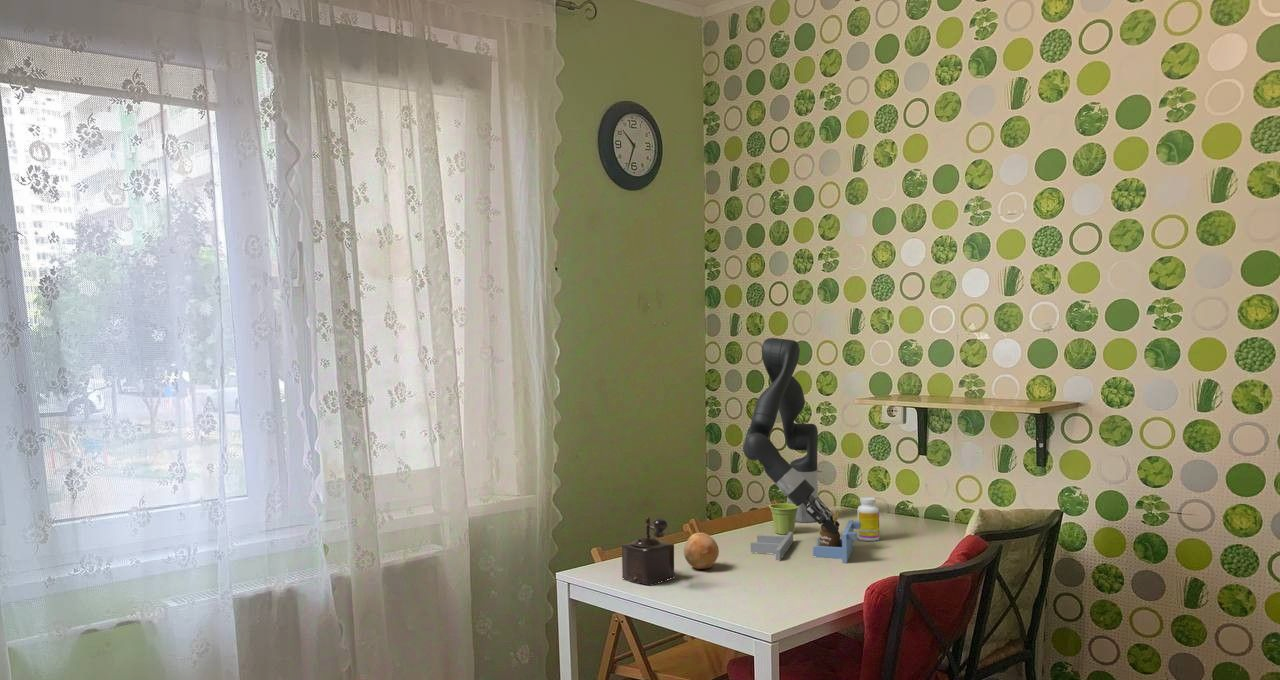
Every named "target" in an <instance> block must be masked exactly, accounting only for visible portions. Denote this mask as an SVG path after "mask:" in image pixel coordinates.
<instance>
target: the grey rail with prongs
mask: <svg viewBox="0 0 1280 680" xmlns="http://www.w3.org/2000/svg"><path fill="white" fill-rule="evenodd" d="M785 535H786V536H783V535H769V534H768V535H764V534H757V535H756V542H754V541H752V542H750V553H751V552H757V553H756V554H758V553H773V554H772V555H774V554H776V555H775V561H776V560H780V559H781V560H782V558H783V557H784V555H785V554H786V553H787V551H788V550H789V548H790V547H791V545H792V544H793V543H794V533H793V532H789V533H787V534H785ZM791 543H792V544H791ZM790 544H791V545H790ZM789 546H790V547H789ZM788 547H789V548H788ZM787 549H788V550H787ZM786 550H787V551H786ZM785 552H786V553H785ZM784 553H785V554H784ZM782 556H783V557H782ZM781 560H780V561H781Z"/></svg>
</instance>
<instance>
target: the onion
mask: <svg viewBox="0 0 1280 680" xmlns="http://www.w3.org/2000/svg"><path fill="white" fill-rule="evenodd" d="M717 543H718V542H717V541H716V540H715V539H714V538H713V537H712V536H710V535H709V534H707V533H706V532H695V533H693V534H691V535H690V536H689V538H687V540H686V542H685V545H684V547H683V548H684V549H683V556H684V559H685V560H686V563H688V564H689V566H691V567H692V568H695V569H698V570H700V569H709V568H711V567H712V566H714V565H715V563H716V561H717V559H718V557H719V553H720V552H719V551H720V549H719V546H718V544H717Z"/></svg>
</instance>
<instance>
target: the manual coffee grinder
mask: <svg viewBox="0 0 1280 680" xmlns="http://www.w3.org/2000/svg"><path fill="white" fill-rule="evenodd" d="M668 525H669V524H668V522H667V520H666V519H664V518H659V517H658V518H655V519H654V520H653V523H652V524H651V517H648V516H647V517H646V518H645V524H644V526H645V529H646V530H645V531H646V533H645V536H642V537H641V536H640V538H637V540H635V541H632V542H628V543H624V544H622V545H621V565H622V568H621V569H622V577H621V579H622V578H624V579H627V580H630V581H629V582H631V581H633V582H632V583H634V582H638V583H637V584H640V583H642V584H641V585H645V584H646V585H647V586H651V585H650V584H654V585H656V584H655V583H658V582H661V581H665V580H667V579H670V578H673V577H674V578H675V544H674V543H670V542H666V541H661V540H659V539H658V538H663V537H665V535H666V534H665V530H666V529H667V528H668ZM650 529H651V530H652V531H654V532H653V536H654V537H653V536H651V535H650ZM674 578H673V579H674ZM624 579H623V580H624ZM627 580H626V581H627ZM665 582H666V581H665ZM661 583H662V582H661ZM658 584H659V583H658Z"/></svg>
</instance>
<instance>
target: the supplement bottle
mask: <svg viewBox="0 0 1280 680" xmlns="http://www.w3.org/2000/svg"><path fill="white" fill-rule="evenodd" d="M859 500H860V501H859V502H860V505H859V506H858V507H857V511H856V513H857V516H856V517H857V518H856V519H857V520H856V521H859V522H861V528H860V529H857V539H859V541H863V542H877V541H878V540H880V508H879V507H878V506H876V501H877V499H876V498H875V497H872V496H862V497H860V499H859ZM876 540H877V541H876Z"/></svg>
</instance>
